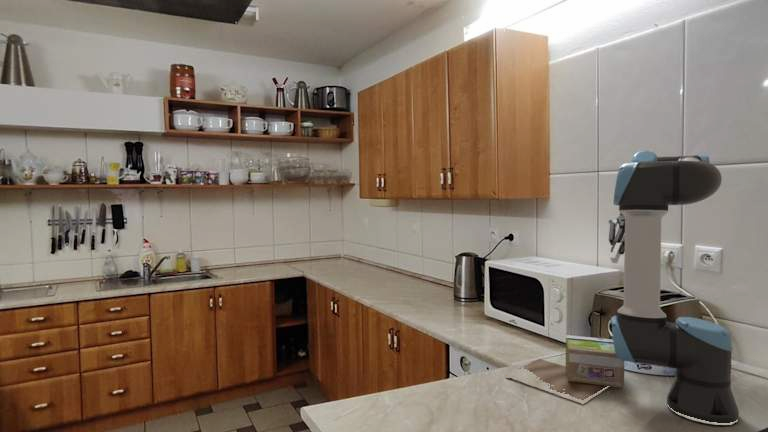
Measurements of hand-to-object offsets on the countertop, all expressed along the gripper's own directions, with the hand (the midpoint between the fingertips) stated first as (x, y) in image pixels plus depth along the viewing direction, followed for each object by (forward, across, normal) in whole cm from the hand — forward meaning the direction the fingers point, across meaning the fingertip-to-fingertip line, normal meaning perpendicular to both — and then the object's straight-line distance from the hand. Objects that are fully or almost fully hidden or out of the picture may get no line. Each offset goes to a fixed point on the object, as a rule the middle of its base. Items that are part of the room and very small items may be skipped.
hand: (613, 260), depth 150 cm
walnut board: (+43, +4, -5) cm, 44 cm away
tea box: (+28, +2, -11) cm, 30 cm away
